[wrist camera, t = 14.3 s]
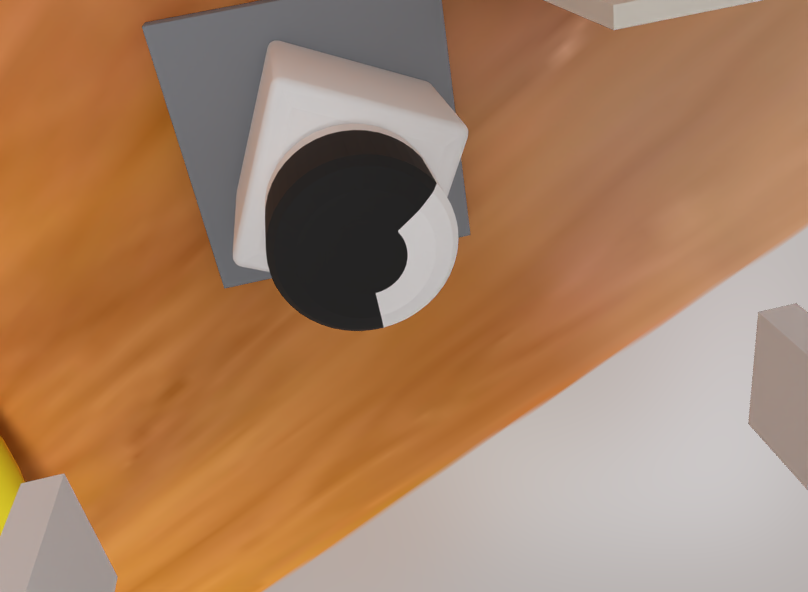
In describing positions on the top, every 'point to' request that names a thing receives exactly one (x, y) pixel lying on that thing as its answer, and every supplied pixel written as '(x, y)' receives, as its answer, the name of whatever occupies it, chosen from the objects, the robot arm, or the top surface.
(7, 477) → the banana
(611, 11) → the carton
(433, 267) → the medicine bottle
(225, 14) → the mat
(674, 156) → the top surface
